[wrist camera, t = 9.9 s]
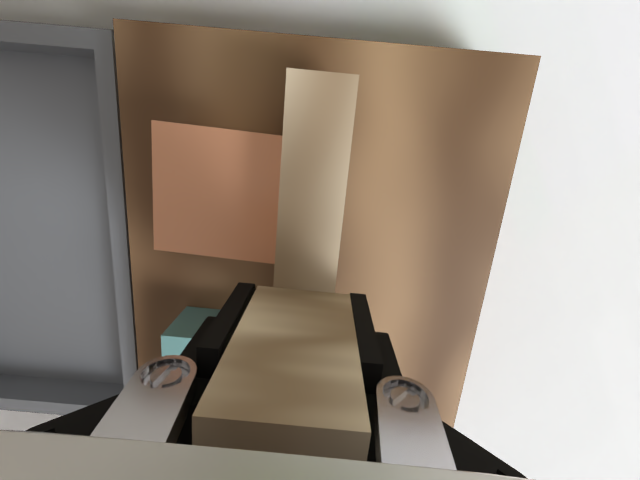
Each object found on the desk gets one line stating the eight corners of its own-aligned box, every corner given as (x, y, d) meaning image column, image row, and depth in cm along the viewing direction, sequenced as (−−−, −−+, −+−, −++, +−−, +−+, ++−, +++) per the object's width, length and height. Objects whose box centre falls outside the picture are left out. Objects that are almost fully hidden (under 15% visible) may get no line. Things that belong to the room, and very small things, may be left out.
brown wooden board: (490, 77, 16) (540, 56, 13) (422, 413, 22) (442, 470, 18) (163, 48, 16) (113, 18, 12) (176, 392, 22) (143, 445, 18)
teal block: (283, 315, 16) (274, 346, 13) (277, 396, 17) (269, 437, 14) (186, 306, 16) (161, 335, 13) (187, 387, 17) (164, 427, 14)
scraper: (366, 91, 12) (446, -23, 4) (322, 457, 16) (318, 751, 8) (280, 83, 12) (187, -48, 4) (259, 451, 16) (194, 740, 8)
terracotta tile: (294, 137, 13) (287, 136, 11) (284, 244, 15) (276, 264, 12) (183, 124, 13) (151, 119, 11) (182, 232, 15) (153, 249, 12)
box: (143, 46, 16) (111, 29, 14) (161, 390, 22) (140, 421, 19) (-103, 25, 16) (-178, 4, 14) (-24, 375, 22) (-68, 403, 19)
